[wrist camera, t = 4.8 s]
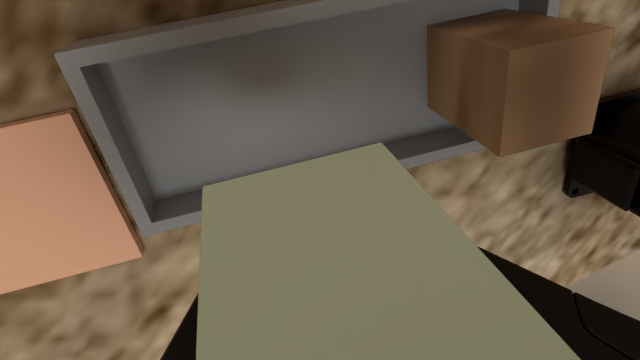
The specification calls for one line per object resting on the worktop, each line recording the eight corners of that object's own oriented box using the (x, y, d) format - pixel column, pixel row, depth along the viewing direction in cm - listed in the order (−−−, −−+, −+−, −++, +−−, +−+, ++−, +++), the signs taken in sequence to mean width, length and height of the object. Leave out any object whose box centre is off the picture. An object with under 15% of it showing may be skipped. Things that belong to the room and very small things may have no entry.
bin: (527, -48, 18) (568, -48, 16) (509, 117, 23) (540, 134, 20) (74, 41, 16) (53, 54, 14) (150, 207, 20) (143, 236, 18)
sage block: (381, 142, 9) (609, 391, 4) (391, 271, 11) (547, 546, 6) (202, 186, 8) (188, 541, 3) (248, 314, 10) (283, 654, 5)
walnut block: (505, 8, 19) (615, 27, 14) (498, 90, 21) (591, 133, 16) (426, 25, 18) (509, 51, 13) (427, 106, 20) (499, 157, 15)
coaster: (73, 108, 17) (69, 113, 17) (144, 249, 21) (142, 256, 21) (-132, 152, 16) (-143, 159, 16) (-17, 291, 20) (-23, 300, 20)
